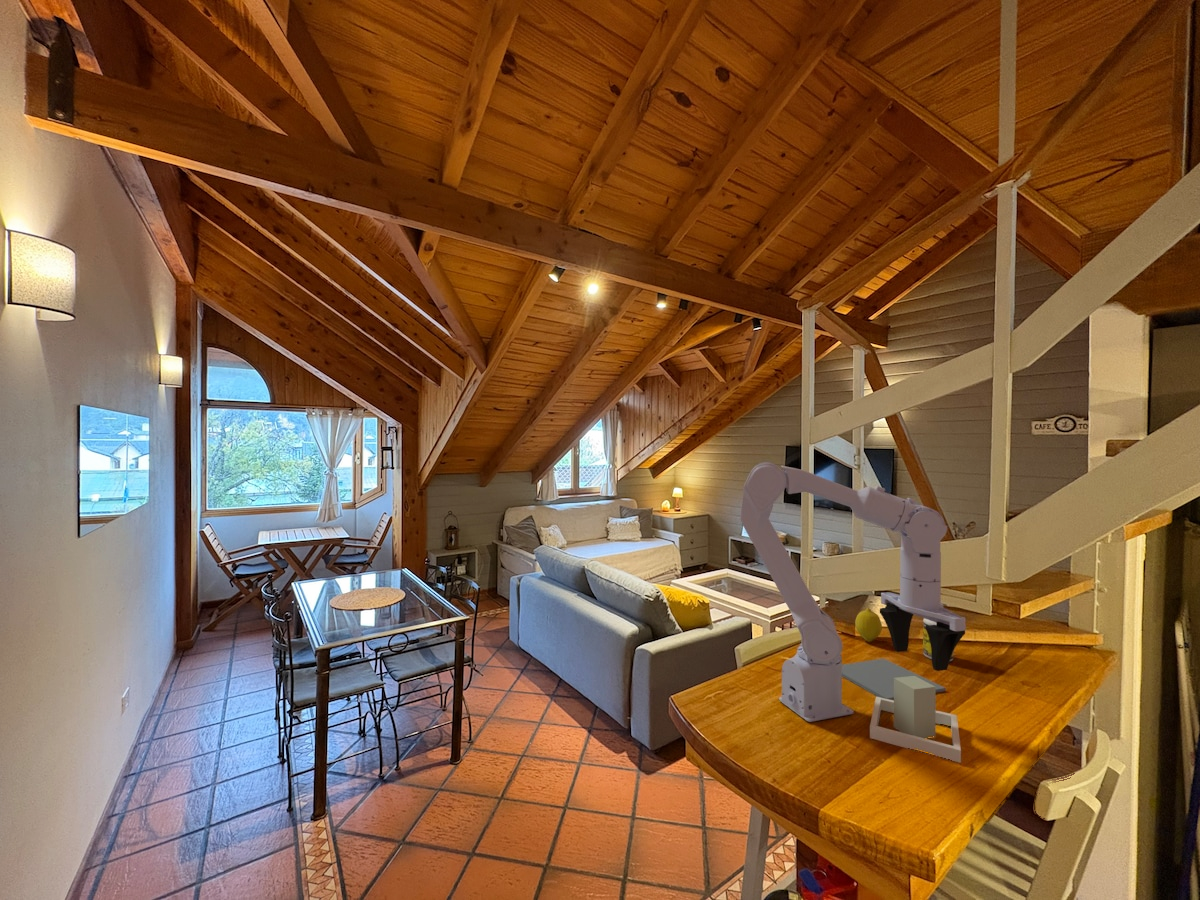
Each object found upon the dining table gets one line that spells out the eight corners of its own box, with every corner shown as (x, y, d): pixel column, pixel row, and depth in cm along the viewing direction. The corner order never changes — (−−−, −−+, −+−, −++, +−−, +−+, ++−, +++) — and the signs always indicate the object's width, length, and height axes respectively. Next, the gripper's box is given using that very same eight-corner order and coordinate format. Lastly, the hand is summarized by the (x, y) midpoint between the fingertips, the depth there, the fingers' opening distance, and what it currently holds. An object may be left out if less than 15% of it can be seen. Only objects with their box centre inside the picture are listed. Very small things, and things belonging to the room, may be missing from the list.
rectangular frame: (960, 763, 73) (960, 750, 73) (869, 738, 79) (869, 726, 79) (956, 726, 83) (956, 715, 83) (876, 706, 89) (876, 696, 89)
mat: (886, 701, 91) (886, 698, 91) (829, 669, 104) (829, 666, 104) (945, 691, 95) (945, 687, 95) (883, 661, 108) (883, 658, 108)
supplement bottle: (916, 654, 112) (917, 608, 112) (935, 651, 114) (936, 606, 114) (940, 664, 107) (940, 616, 107) (960, 661, 108) (960, 613, 108)
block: (935, 737, 79) (935, 686, 79) (913, 740, 78) (913, 689, 78) (914, 724, 83) (914, 675, 83) (893, 727, 82) (893, 677, 82)
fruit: (875, 637, 122) (875, 604, 122) (885, 646, 116) (886, 611, 116) (851, 636, 123) (851, 603, 123) (860, 645, 117) (860, 610, 117)
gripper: (981, 588, 78) (981, 676, 78) (903, 566, 92) (903, 641, 92) (944, 590, 76) (944, 681, 76) (871, 568, 90) (870, 644, 90)
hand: (919, 659), depth 84 cm, fingers open, 7 cm apart
